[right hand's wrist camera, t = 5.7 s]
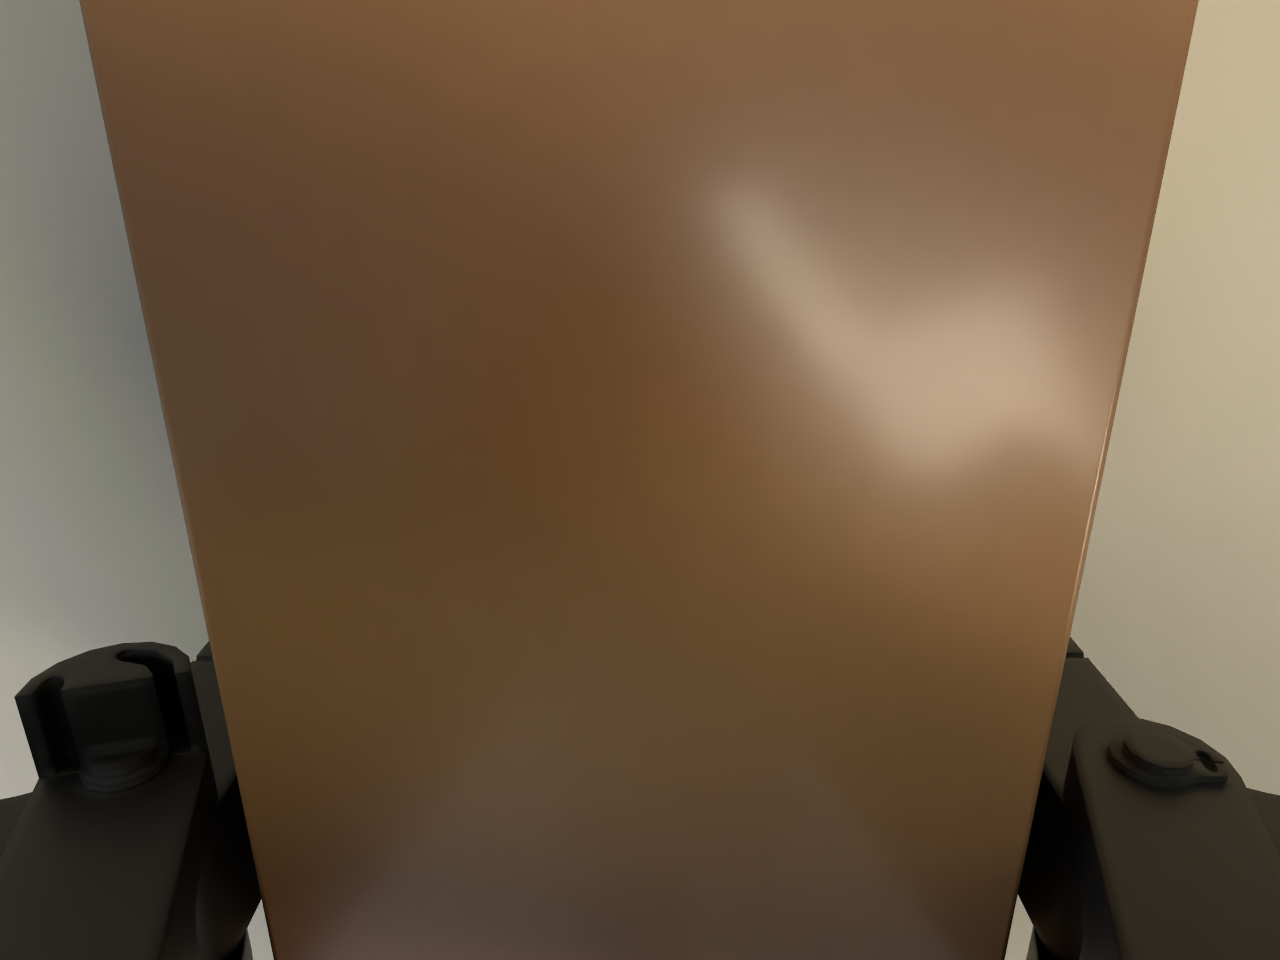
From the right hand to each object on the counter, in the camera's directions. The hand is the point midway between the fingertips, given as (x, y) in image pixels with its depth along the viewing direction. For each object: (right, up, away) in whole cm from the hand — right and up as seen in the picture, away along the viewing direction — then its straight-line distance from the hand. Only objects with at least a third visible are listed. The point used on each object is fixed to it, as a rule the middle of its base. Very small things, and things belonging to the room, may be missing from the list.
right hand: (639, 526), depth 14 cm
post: (0, +25, -10) cm, 27 cm away
